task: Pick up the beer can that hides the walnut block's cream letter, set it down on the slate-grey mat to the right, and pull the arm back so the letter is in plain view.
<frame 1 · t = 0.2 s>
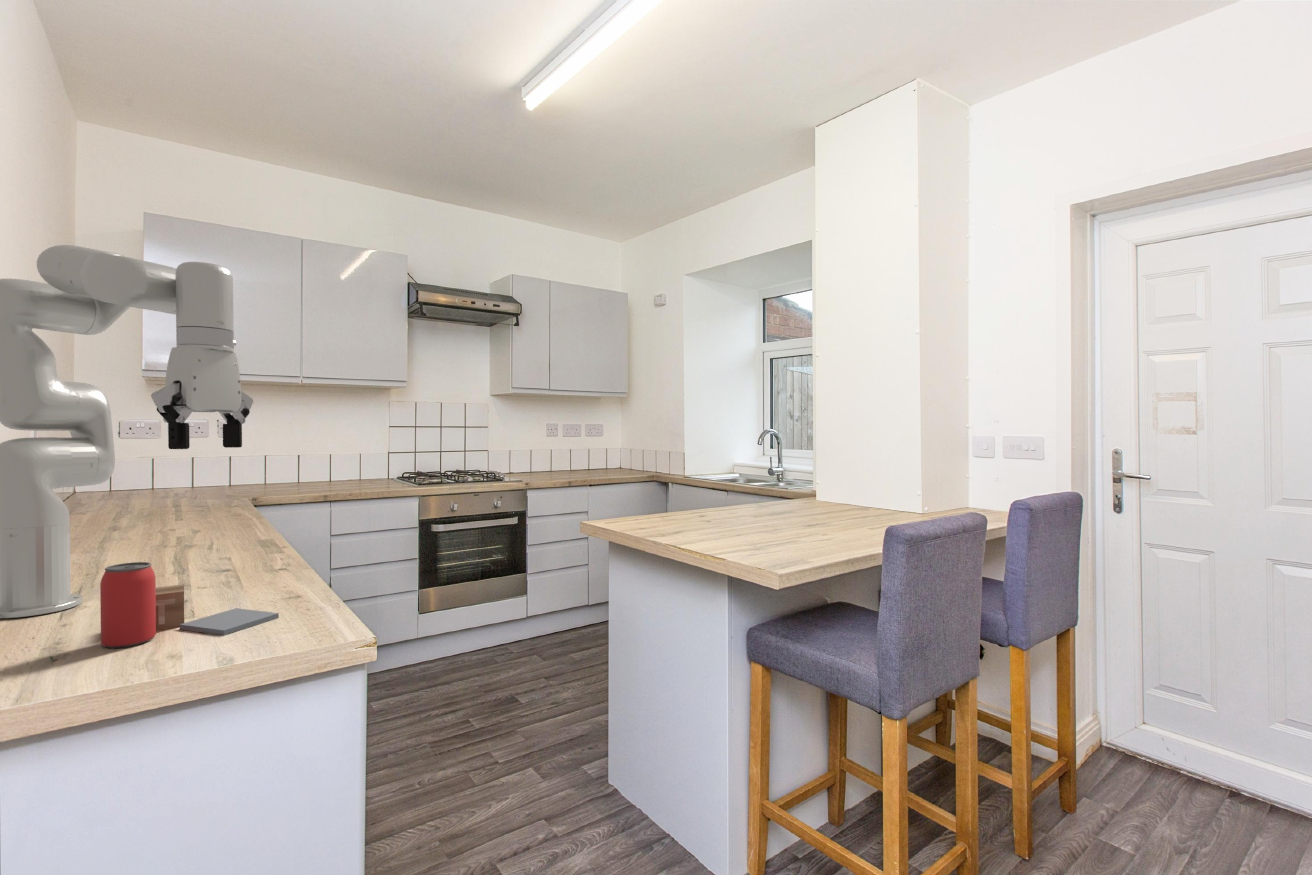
hand: (207, 448, 101), 30 cm above the countertop, tool pointing down, fingers open, 9 cm apart
grey mat: (230, 623, 108), on the countertop
beer can: (129, 643, 98), on the countertop
letter block: (162, 625, 107), on the countertop
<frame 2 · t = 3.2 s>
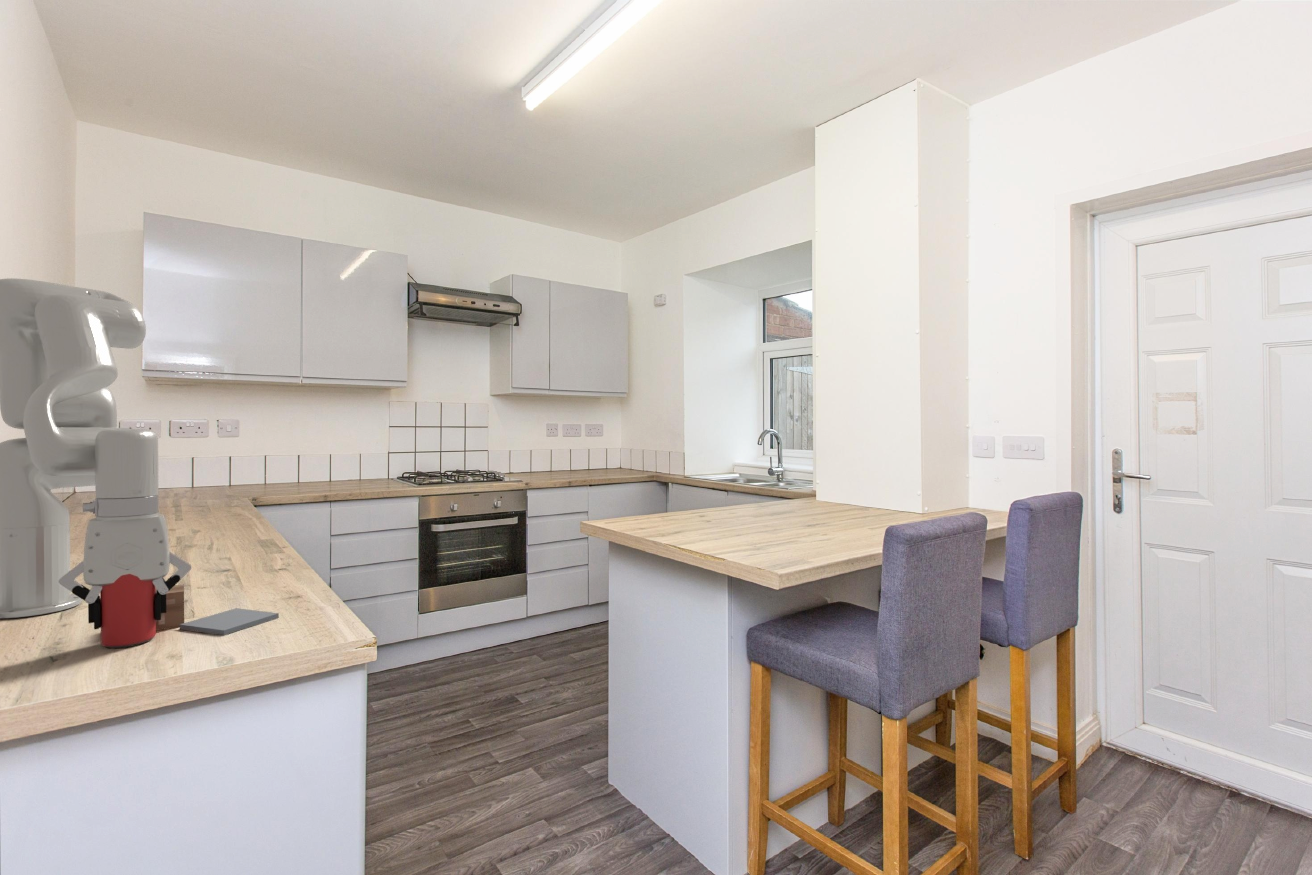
hand: (128, 621, 98), 3 cm above the countertop, tool pointing down, fingers closed on beer can, 6 cm apart
beer can: (129, 643, 98), on the countertop, touching gripper
everything else where it was.
when the fingers open (5 cm above the countertop, at t = 10.3 s): beer can stays where it is, resting on grey mat.
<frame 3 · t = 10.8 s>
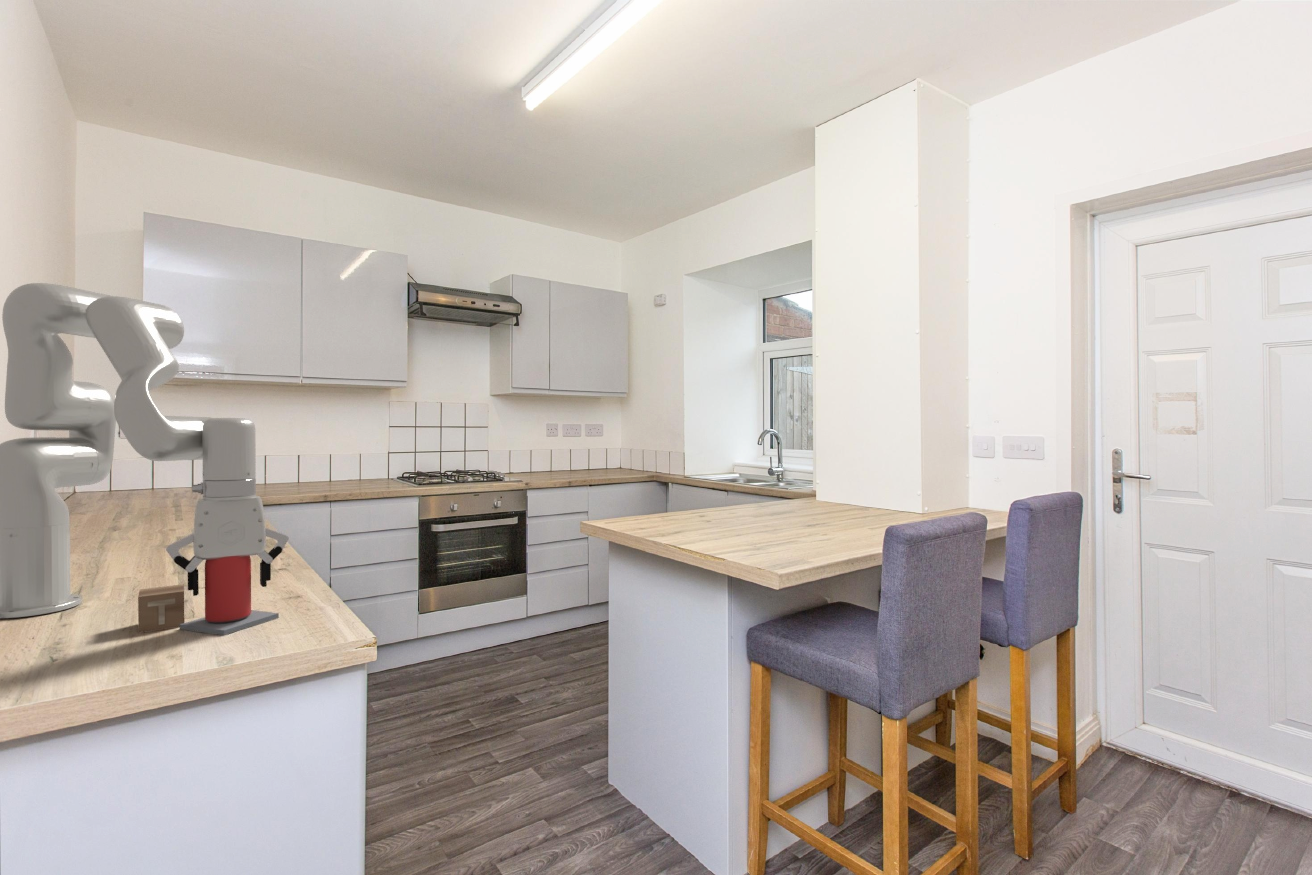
hand: (230, 589, 108), 6 cm above the countertop, tool pointing down, fingers open, 9 cm apart
beer can: (228, 619, 107), point 1 cm above the countertop, touching grey mat
everything else where it was.
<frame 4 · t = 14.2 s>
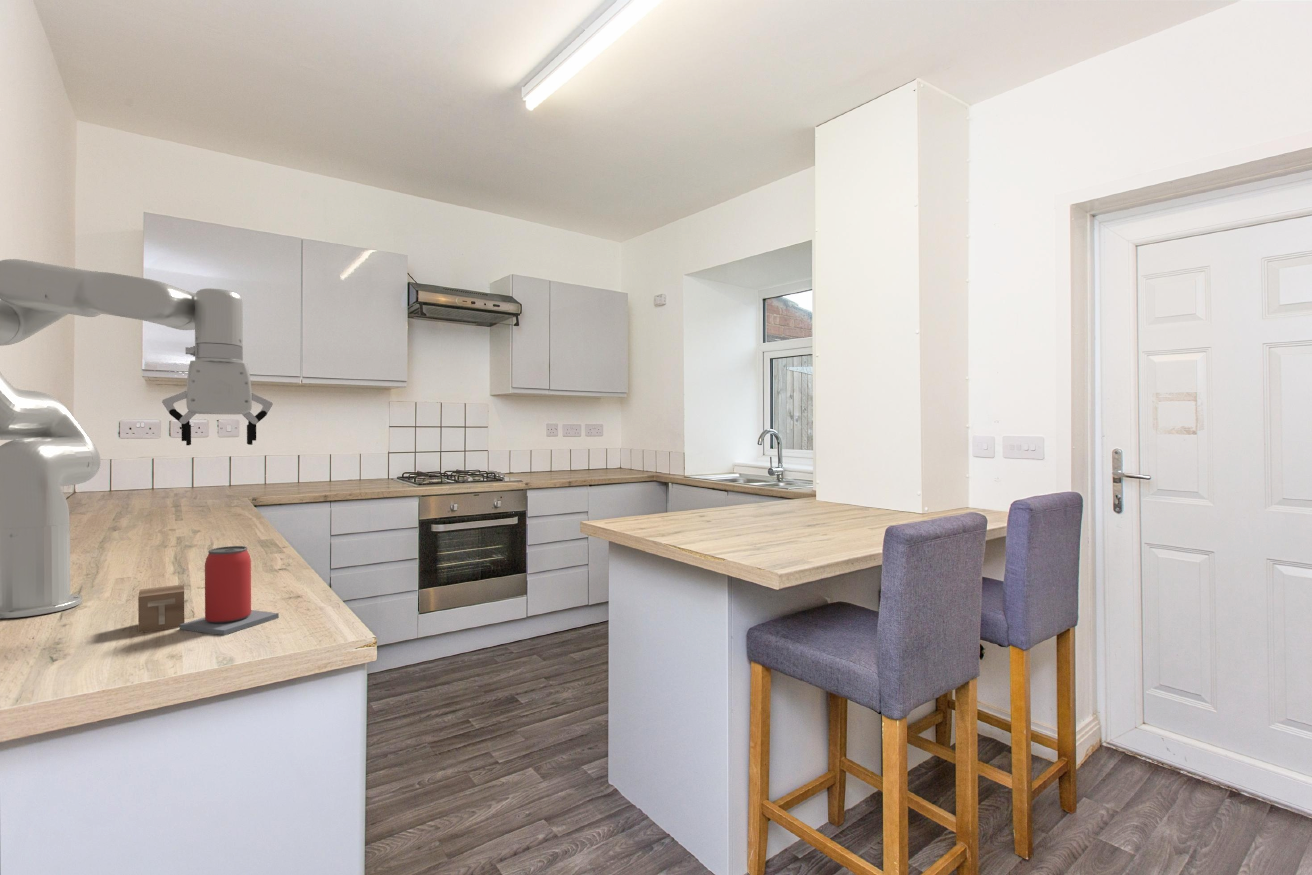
hand: (219, 444, 120), 30 cm above the countertop, tool pointing down, fingers open, 9 cm apart
nothing on the countertop moved.
at the end: beer can 0.4 cm off-centre on the grey mat, point 0.6 cm above the grey mat's base; beer can tilted 0°; letter block moved 0.1 cm from its start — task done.
